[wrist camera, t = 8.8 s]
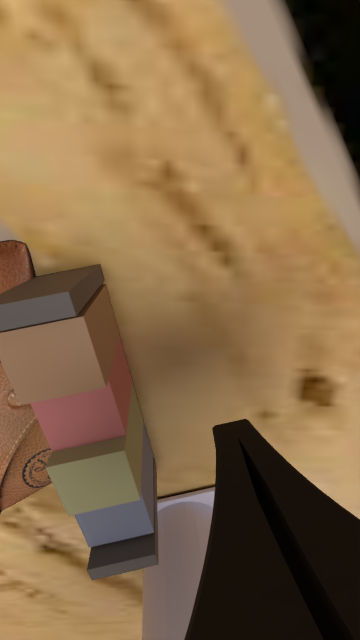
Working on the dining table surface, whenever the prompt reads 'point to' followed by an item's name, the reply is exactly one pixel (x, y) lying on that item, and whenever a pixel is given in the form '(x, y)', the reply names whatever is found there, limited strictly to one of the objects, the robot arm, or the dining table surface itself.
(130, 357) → the dining table surface
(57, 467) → the book row
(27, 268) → the sunglasses case
